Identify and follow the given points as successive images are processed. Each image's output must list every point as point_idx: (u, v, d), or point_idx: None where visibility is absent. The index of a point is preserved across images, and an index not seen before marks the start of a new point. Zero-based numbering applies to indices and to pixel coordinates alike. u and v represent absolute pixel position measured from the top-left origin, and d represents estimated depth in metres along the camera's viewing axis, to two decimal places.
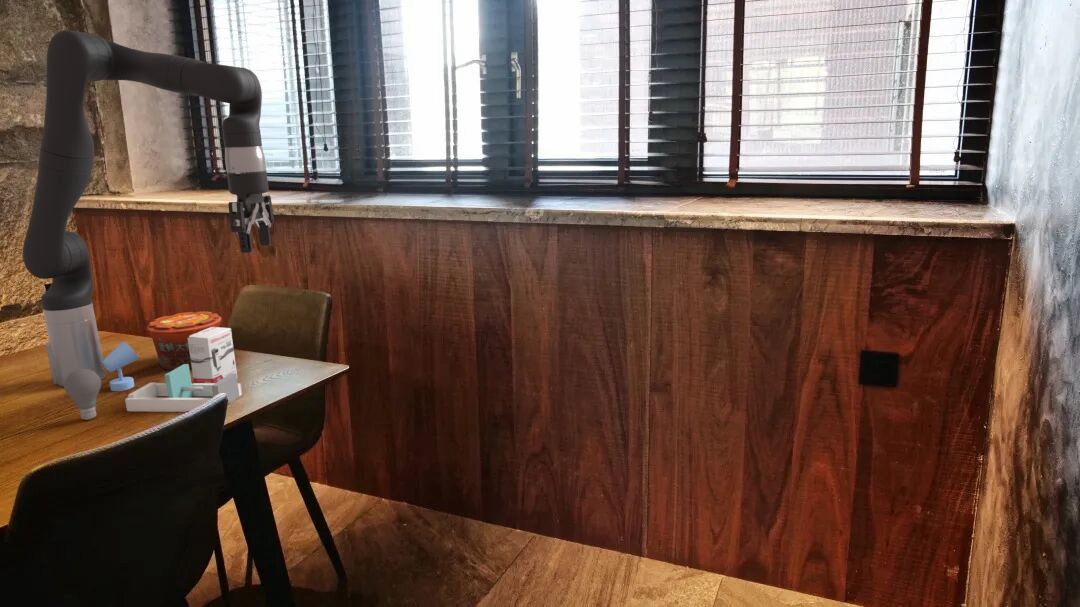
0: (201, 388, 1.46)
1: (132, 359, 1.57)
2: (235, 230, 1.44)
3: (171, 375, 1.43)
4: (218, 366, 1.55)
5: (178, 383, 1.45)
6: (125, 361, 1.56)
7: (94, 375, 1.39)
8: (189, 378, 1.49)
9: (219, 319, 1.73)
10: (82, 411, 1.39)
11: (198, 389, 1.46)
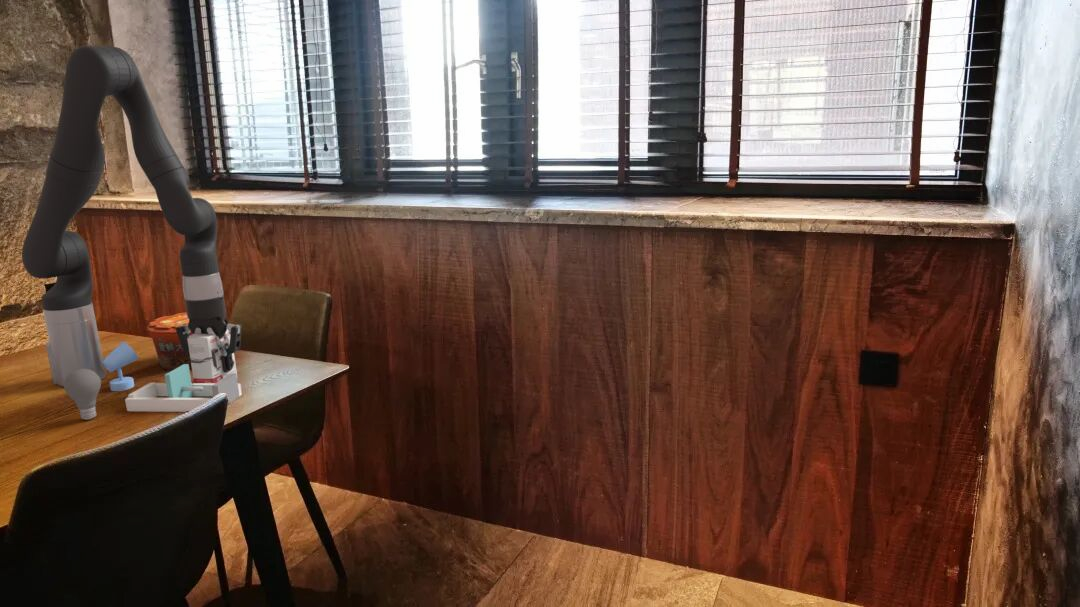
0: (201, 388, 1.46)
1: (132, 359, 1.57)
2: (235, 350, 1.55)
3: (171, 375, 1.43)
4: (218, 366, 1.55)
5: (178, 383, 1.45)
6: (125, 361, 1.56)
7: (94, 375, 1.39)
8: (189, 378, 1.49)
9: None
10: (82, 411, 1.39)
11: (198, 389, 1.46)
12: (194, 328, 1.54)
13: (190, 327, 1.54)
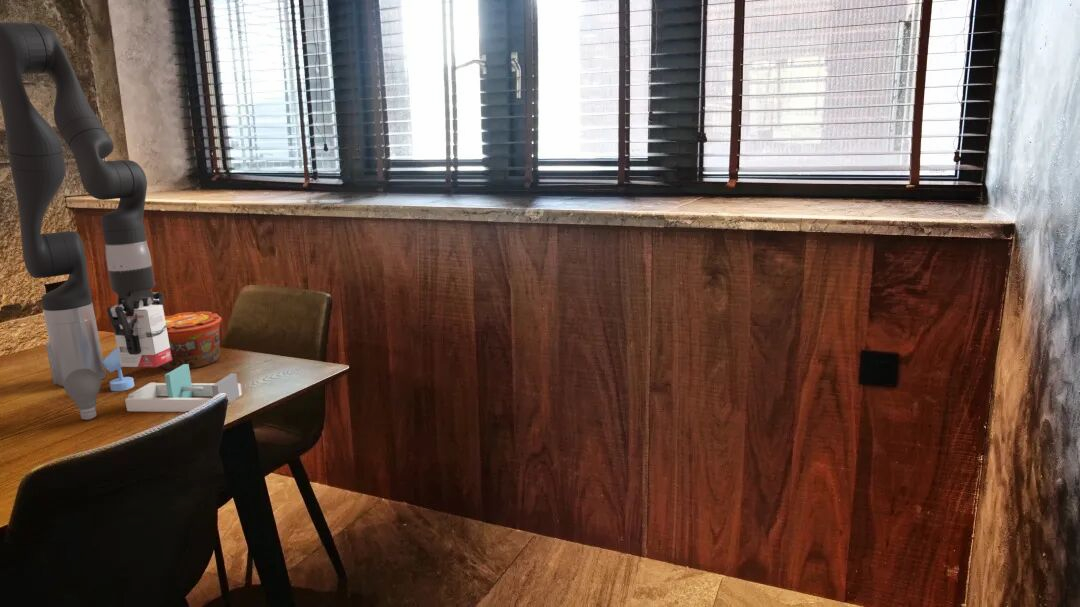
0: (201, 388, 1.46)
1: None
2: None
3: (171, 375, 1.43)
4: None
5: (178, 383, 1.45)
6: None
7: (94, 375, 1.39)
8: (189, 378, 1.49)
9: (219, 319, 1.73)
10: (82, 411, 1.39)
11: (198, 389, 1.46)
12: (132, 304, 1.40)
13: (129, 303, 1.39)
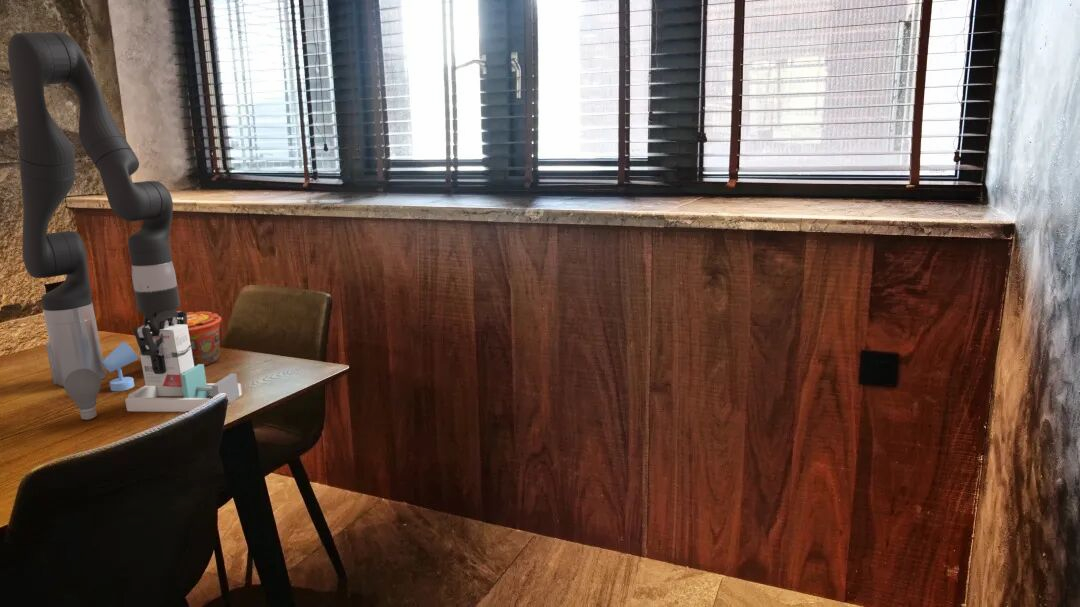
0: None
1: (132, 359, 1.57)
2: None
3: (187, 375, 1.43)
4: None
5: (193, 383, 1.45)
6: (125, 361, 1.56)
7: (94, 375, 1.39)
8: (204, 378, 1.49)
9: (219, 319, 1.73)
10: (82, 411, 1.39)
11: None
12: (158, 324, 1.41)
13: (155, 324, 1.40)
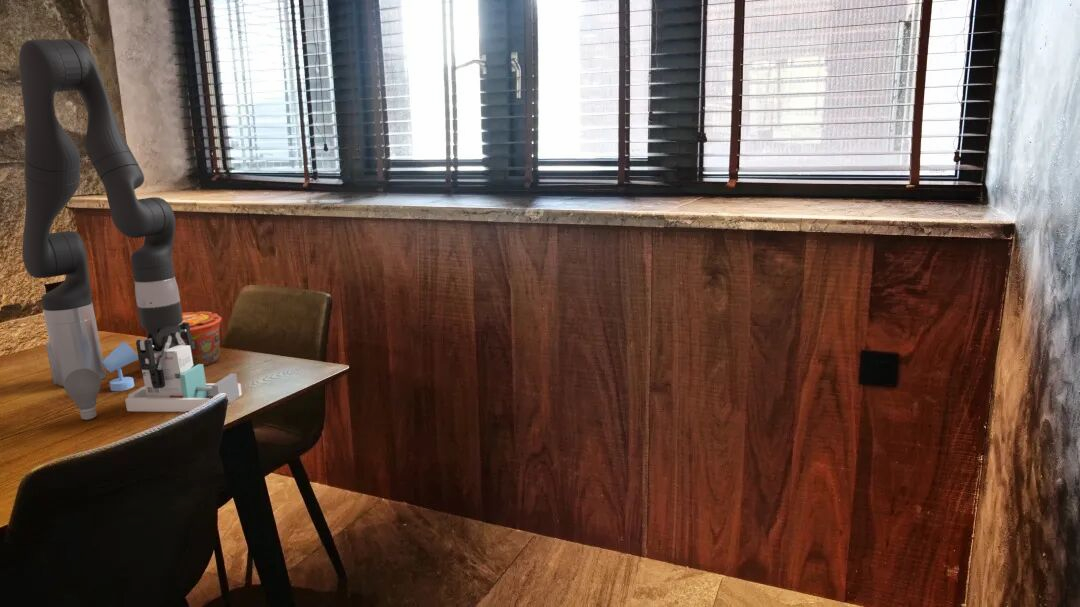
0: None
1: (132, 359, 1.57)
2: None
3: (186, 375, 1.43)
4: None
5: (193, 383, 1.45)
6: (125, 361, 1.56)
7: (94, 375, 1.39)
8: (203, 378, 1.49)
9: (219, 319, 1.73)
10: (82, 411, 1.39)
11: None
12: (161, 340, 1.42)
13: (158, 339, 1.41)
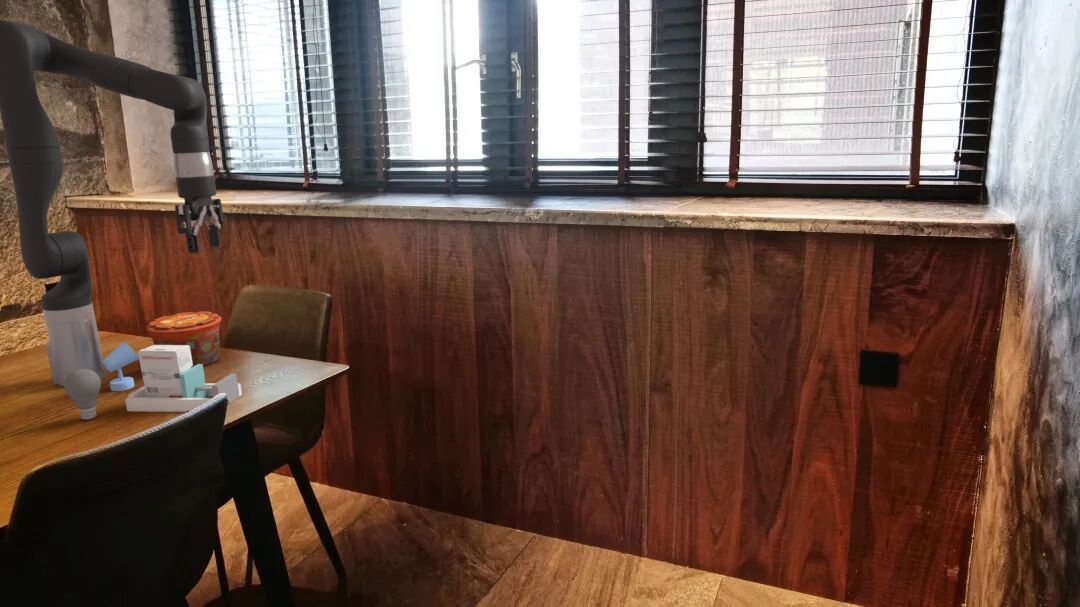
0: None
1: (132, 359, 1.57)
2: None
3: (186, 375, 1.43)
4: None
5: (192, 383, 1.45)
6: (125, 361, 1.56)
7: (94, 375, 1.39)
8: (203, 378, 1.49)
9: (219, 319, 1.73)
10: (82, 411, 1.39)
11: None
12: (197, 209, 1.54)
13: (194, 207, 1.54)
